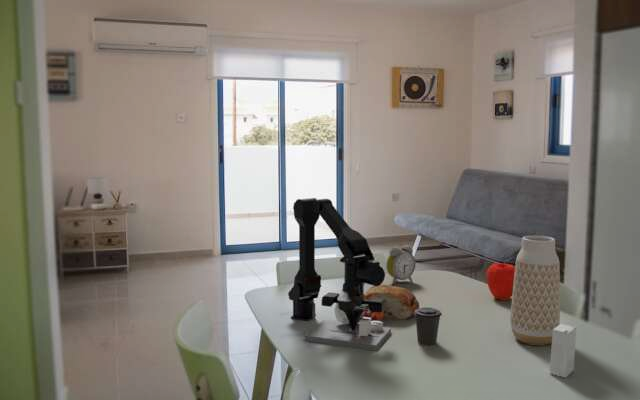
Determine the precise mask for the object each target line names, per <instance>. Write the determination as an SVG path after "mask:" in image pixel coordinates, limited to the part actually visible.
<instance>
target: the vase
mask: <svg viewBox="0 0 640 400" xmlns="http://www.w3.org/2000/svg"><path fill="white" fill-rule="evenodd" d="M560 265H561V263H560V259H559V257H558V254H557V252H556V239H555V238H553V237H551V236H544V235H524V236H523V237H522V238H521V248H520V250H519V252H518V254H517V256H516V259H515V265H514V266H515V274H514V284H513V294H512V296H511V305H510V306H511V307H510V328H511V331H512V333H513V336H514V337H515V338H516V339H517V340H518V341H519V342H521V343H523V344H526V343H527V345H530V344H533V345H532V346H547V345H550V344H552V335H553V329H555V328H556V327H557V326H559V325H560V324H561V322H560V320H561V297H560V296H561V293H560V292H561V276H560V275H561V274H560V269H561V267H560ZM549 343H550V344H549ZM546 344H547V345H546Z"/></svg>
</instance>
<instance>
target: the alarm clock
mask: <svg viewBox="0 0 640 400" xmlns="http://www.w3.org/2000/svg"><path fill="white" fill-rule="evenodd" d="M413 252H414V249H413V247H412V246H411V245H410V244H405V245H403V246H401V248H400V247H399V246H392V247H391V248H390V249H389V255H388V257H387V260H386V272H387V273H388V275H389V276H390V277H392V286H393V285H395V284H396V282H397V280H400V281H405V280H409V281H410V282H413V278H412V275H413V274H414V272H415V270H416V258H415V256H414V255H413Z"/></svg>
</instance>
